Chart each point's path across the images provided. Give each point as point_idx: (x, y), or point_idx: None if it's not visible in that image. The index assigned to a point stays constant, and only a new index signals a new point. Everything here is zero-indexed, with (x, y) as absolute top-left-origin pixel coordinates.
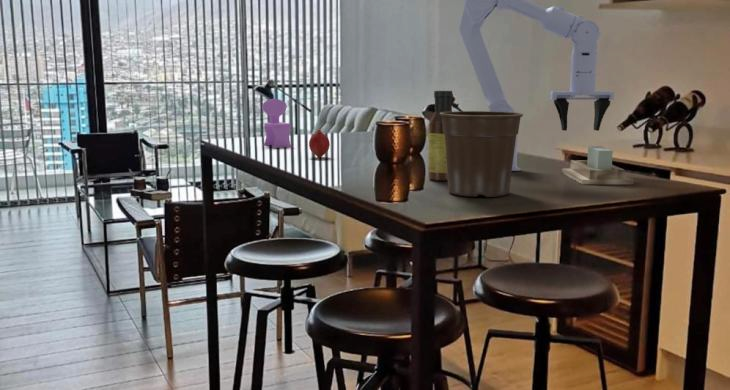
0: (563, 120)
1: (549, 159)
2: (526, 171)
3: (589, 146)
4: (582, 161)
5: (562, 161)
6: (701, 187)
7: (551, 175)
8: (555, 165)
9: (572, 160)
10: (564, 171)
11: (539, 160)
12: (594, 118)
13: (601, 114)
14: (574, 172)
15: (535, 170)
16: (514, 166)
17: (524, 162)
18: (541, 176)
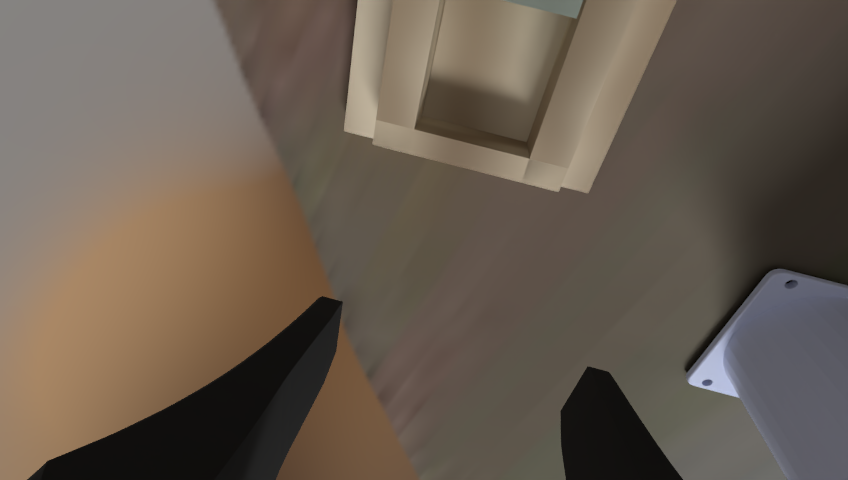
0: (657, 448)
1: (419, 463)
2: (729, 266)
3: (568, 10)
4: (502, 151)
5: (397, 423)
6: None
7: (710, 111)
8: (477, 363)
9: (548, 187)
10: (607, 142)
11: (467, 459)
12: (294, 437)
13: (244, 387)
14: (629, 24)
15: (660, 280)
16: (786, 310)
17: (551, 445)
18: (802, 89)
